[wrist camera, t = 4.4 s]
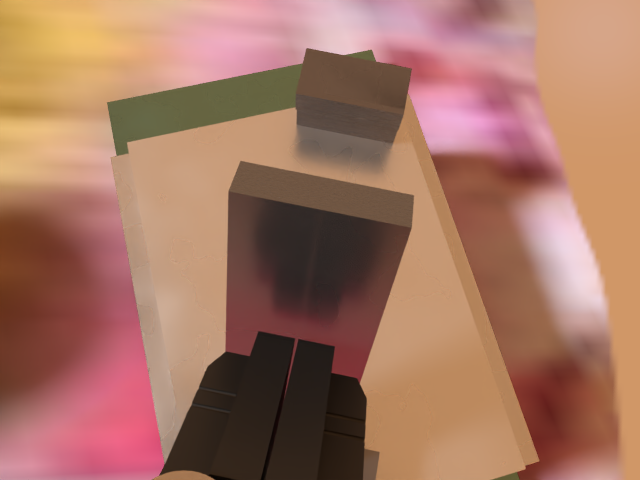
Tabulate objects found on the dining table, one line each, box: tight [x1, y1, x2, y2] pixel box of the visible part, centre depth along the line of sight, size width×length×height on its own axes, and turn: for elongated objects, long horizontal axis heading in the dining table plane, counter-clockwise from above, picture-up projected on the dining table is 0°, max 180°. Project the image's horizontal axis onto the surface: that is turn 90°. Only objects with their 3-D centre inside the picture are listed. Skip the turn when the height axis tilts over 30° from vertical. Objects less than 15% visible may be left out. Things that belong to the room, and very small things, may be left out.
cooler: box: [107, 48, 539, 480], centre depth 22 cm, size 24×13×8 cm, turn 15°
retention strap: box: [225, 161, 414, 394], centre depth 14 cm, size 11×3×1 cm
